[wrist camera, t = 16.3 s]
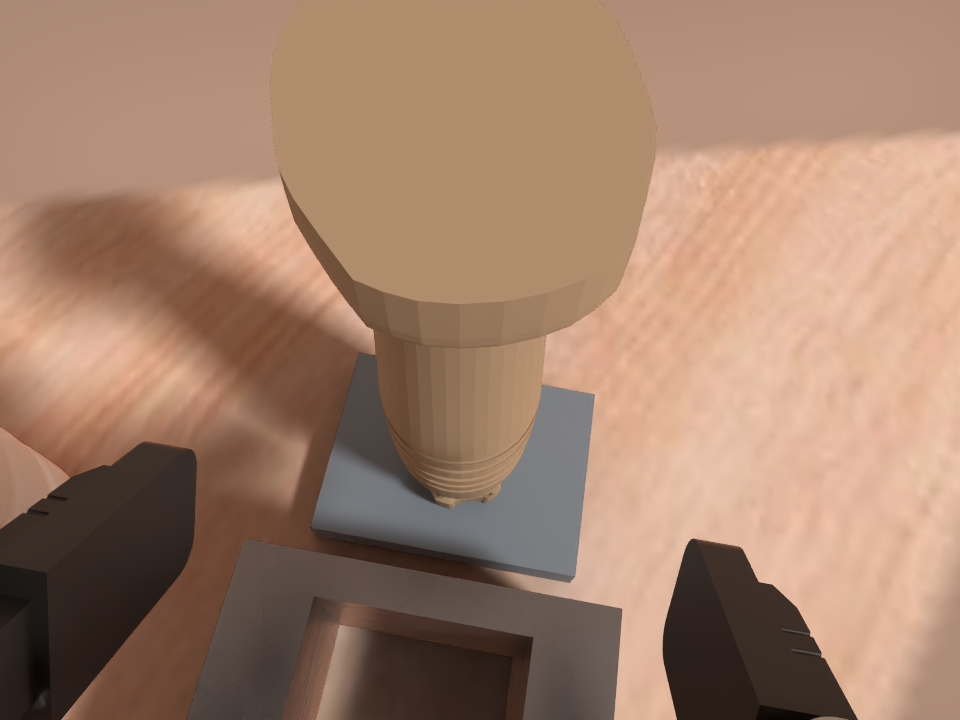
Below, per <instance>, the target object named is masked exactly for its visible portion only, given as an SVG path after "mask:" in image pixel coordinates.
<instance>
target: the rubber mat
mask: <svg viewBox="0 0 960 720" xmlns="http://www.w3.org/2000/svg"><path fill="white" fill-rule="evenodd" d="M594 397H595V394H589V393H584V392H578V391H572V390H567V389H561V388H556V387H550V386H544V385H542V386H541V395H540V400H539V405H538V409H537V413H536V417H535V421H534V425H533V428H532V431H531V434H530V436H529V439H528V442H527V444H526V446H525V449H524V451H523V453H522V456H521V457H520V459H519V461H518V462H517V464H516V466H515V467H514V469H513V470H512V472H511V473H510V474H509V475H508V476H507V478H506V479H505V480H504V481H503V482H501V490H500V492H499V494H498V495H496V496H495V497H494V498H493V499H492V500H490V501H489V502H487V503H482V502H478V501H468V502H464V503H460V504H458V505H456V506H454V508H452V509H448V508H444V507H442V506H439V505H438V504H437V503H436V502H435V500H434V496H433V494H432V493H431V491H430V490H428V489H426V488H425V487H424V486H422V485H421V484H420V483H419V482H418V481H417V480H416V479H415V478H414V477H413V476H412V475H411V474H410V473H409V471H408V469H407V468H406V466H405V464H404V462H403V461H402V459H401V457H400V456H399V453H398V451H397V449H396V446H395V444H394V441H393V439H392V436H391V434H390V431H389V428H388V424H387V421H386V417H385V414H384V410H383V406H382V402H381V397H380V390H379V380H378V370H377V360H376V356H375V355H370V354H364V353H359V355H358V359H357V362H356V366H355V369H354V373H353V376H352V380H351V383H350V387H349V391H348V394H347V398H346V401H345V405H344V408H343V412H342V416H341V419H340V423H339V426H338V430H337V433H336V437H335V440H334V444H333V448H332V451H331V455H330V458H329V462H328V465H327V469H326V473H325V476H324V480H323V483H322V487H321V490H320V494H319V497H318V501H317V505H316V508H315V512H314V515H313V519H312V522H311V526H310V528H311V530H312V531H313V533H314V535H315V536H320V537H325V538H331V539H336V540H342V541H347V542H352V543H358V544H363V545H369V546H374V547H379V548H385V549H390V550H396V551H401V552H406V553H412V554H417V555H422V556H428V557H433V558H439V559H444V560H449V561H455V562H460V563H466V564H471V565H476V566H482V567H487V568H493V569H498V570H503V571H509V572H514V573H520V574H525V575H530V576H536V577H541V578H546V579H552V580H557V581H563V582H568V583H570V582H571V581H572V580H573V578H574V577H575V574H576V564H577V555H578V546H579V536H580V527H581V518H582V509H583V499H584V490H585V481H586V472H587V462H588V453H589V444H590V434H591V425H592V416H593V407H594Z"/></svg>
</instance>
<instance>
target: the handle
mask: <svg viewBox="0 0 960 720" xmlns="http://www.w3.org/2000/svg"><path fill="white" fill-rule="evenodd" d="M270 93H271V111H272V128H273V142H274V147H275V152H276V157H277V162H278V168H279V172H280V176H281V179H282V183H283V186H284V190H285V193H286V196H287V199H288V203H289V206H290V209H291V212H292V215H293V218H294V221H295V223H296V224H297V226H298V228H299V229H300V231H301V233H302V234H303V236H304V238H305V240H306V241H307V243H308V245H309V246H310V248H311V250H312V251H313V253H314V254H315V256H316V257H317V259H318V260H319V262H320V264H321V265H322V267H323V268H324V270H325V271H326V273H327V274H328V276H329V277H330V279H331V280H332V282H333V283H334V285H335V286H336V287H337V289H338V290H339V291H340V293H341V294H342V295H343V297H344V298H345V299H346V301H347V302H348V303H349V305H350V306H351V307H352V308H353V310H354V311H355V312H356V313H357V315H358V316H359V317H360V318H361V320H362V321H363V322H364V324H365V325H366V326H367V327H369V328H371V329H373V330H374V340H375V350H376V360H377V370H378V380H379V390H380V397H381V402H382V406H383V410H384V414H385V417H386V421H387V424H388V428H389V431H390V434H391V436H392V439H393V441H394V444H395V446H396V449H397V451H398V453H399V456H400V457H401V459H402V461H403V462H404V464H405V466H406V468H407V469H408V471H409V473H410V474H411V475H412V476H413V477H414V478H415V479H416V480H417V481H418V482H419V483H420V484H421V485H422V486H424V487H425V488H426V489H428V490H430V491H431V493H432V494H433V496H434V500H435V502H436V503H437V504H438V505H439V506H442V507H444V508H448V509H452V508H454V506H456V505H458V504H460V503H464V502H468V501H478V502H482V503H487V502H489V501H490V500H492V499H493V498H494V497H495V496H496V495H498V494H499V492H500V490H501V482H503V481H504V480H505V479H506V478H507V476H508V475H509V474H510V473H511V472H512V470H513V469H514V467H515V466H516V464H517V462H518V461H519V459H520V457H521V456H522V453H523V451H524V449H525V446H526V444H527V442H528V439H529V436H530V434H531V431H532V428H533V425H534V421H535V417H536V413H537V409H538V405H539V400H540V395H541V386H542V375H543V365H544V354H545V344H546V335H547V334H550V333H552V332H555V331H558V330H560V329H563V328H566V327H568V326H571V325H572V324H574V323H575V322H577V321H578V320H580V319H581V318H583V317H584V316H586V315H588V314H589V313H591V312H592V311H594V310H595V309H596V308H597V307H598V306H599V305H601V304H602V303H603V302H604V301H605V300H606V299H607V298H609V297H610V296H611V295H612V294H613V293H614V292H615V291H616V290H617V288H618V286H619V284H620V282H621V280H622V277H623V275H624V272H625V270H626V267H627V264H628V262H629V259H630V256H631V253H632V251H633V248H634V245H635V242H636V238H637V234H638V230H639V226H640V222H641V218H642V214H643V210H644V206H645V202H646V198H647V194H648V189H649V184H650V180H651V175H652V170H653V166H654V161H655V152H656V133H657V132H656V131H657V127H656V123H655V118H654V114H653V110H652V105H651V101H650V98H649V95H648V92H647V89H646V87H645V84H644V81H643V78H642V76H641V73H640V70H639V68H638V65H637V62H636V59H635V57H634V54H633V51H632V48H631V46H630V44H629V42H628V40H627V39H626V36H625V34H624V32H623V30H622V28H621V27H620V25H619V23H618V21H617V20H616V19H615V18H614V16H613V15H612V14H611V13H610V12H609V11H608V9H607V8H606V7H605V6H604V5H603V4H602V3H601V1H600V0H299V1H298V3H297V5H296V6H295V8H294V10H293V12H292V13H291V15H290V17H289V19H288V21H287V22H286V24H285V26H284V27H283V29H282V31H281V34H280V36H279V39H278V42H277V44H276V47H275V49H274V52H273V54H272V63H271V74H270Z"/></svg>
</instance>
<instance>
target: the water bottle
mask: <svg viewBox="0 0 960 720" xmlns="http://www.w3.org/2000/svg"><path fill="white" fill-rule="evenodd" d="M68 479H70V477H69V476H68V475H67V474H66V473H65V472H64V471H63V470H61V469H60V468H59V467H58V466H56V465H55V464H54V463H52V462H51V461H49V460H47V459H46V458H45V457H43V456H42V455H41V454H39V453H38V452H36V451H34V450H33V449H31V448H30V447H28V446H26V445H25V444H23V443H21V442H19V441H18V440H17V439H16V438H15V437H13V436H12V435H11V434H10V433H8V432H7V431H5V430H4V429H3V428H1V427H0V529H1V528H3V527H4V526H5V525H7V524H8V523H9V522H11V521H12V520H13V519H15V518H16V517H18V516H19V515H20V514H22V513H27V511H28V509H29V508H30V507H31V506H33V505H34V504H35V503H37V502H38V501H40V500H41V499H42V498H45V499H46V498H47V495H48V494H49V493H50V492H52V491H53V490H55V489H56V488H57V487H59V486H60V485H61V484H63V483H64V482H66V481H67V480H68Z"/></svg>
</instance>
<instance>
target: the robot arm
mask: <svg viewBox="0 0 960 720" xmlns="http://www.w3.org/2000/svg"><path fill="white" fill-rule="evenodd" d="M196 469H197V462H196V456H195V453H194V452H193V451H192V450H191V449H186V448H180V447H175V446H169V445H163V444H158V443H152V442H142V443H141V444H139V445H138V446H136V447H135V448H134V449H133V450H131V451H130V452H129V453H127V454H126V455H125V456H123V457H122V458H121V459H120V460H118V461H117V462H116V463H114V464H113V465H112V466H106V465H103V466H100V467H98V468H95V469H92V470H90V471H87V472H84V473H82V474H79V475H76V476H74V477H71V478H70V479H68V480H67V481H66V482H64V483H63V484H61V485H60V486H59V487H57V488H56V489H55V490H53V491H52V492H50V493H49V494H48V495H47V498H46V499H45V498H42V499H41V500H40V501H38V502H37V503H35V504H34V505H33V506H31V507H30V508H29V509H28V511H27V513H22V514H20V515H19V516H18V517H16V518H15V519H13V520H12V521H11V522H9V523H8V524H7V525H5V526H4V527H3V528H1V529H0V720H61V719H62V718H63V717H64V715H65V714H66V713H67V712H68V710H69V709H70V708H71V707H72V706H73V704H74V703H75V702H76V701H77V699H78V698H79V697H80V696H81V695H82V693H83V692H84V691H85V690H86V688H87V687H88V686H89V685H90V684H91V682H92V681H93V680H94V679H95V678H96V676H97V675H98V674H99V673H100V671H101V670H102V669H103V668H104V667H105V665H106V664H107V663H108V662H109V660H110V659H111V658H112V657H113V656H114V654H115V653H116V652H117V651H118V649H119V648H120V647H121V646H122V645H123V643H124V642H125V641H126V640H127V638H128V637H129V636H130V635H131V634H132V632H133V631H134V630H135V629H136V628H137V626H138V625H139V624H140V623H141V621H142V620H143V619H144V618H145V617H146V615H147V614H148V613H149V612H150V610H151V609H152V608H153V607H154V606H155V604H156V603H157V602H158V601H159V599H160V598H161V597H162V596H163V595H164V593H165V592H166V591H167V590H168V589H169V587H170V586H171V585H172V584H173V582H174V581H175V580H176V579H177V578H178V576H179V575H180V574H181V572H182V571H183V569H184V567H185V565H186V563H187V561H188V558H189V555H190V552H191V549H192V545H193V539H194V524H195V496H196ZM663 660H664V666H665V670H666V674H667V679H668V683H669V687H670V691H671V696H672V700H673V704H674V708H675V713H676V717H677V720H858V719H857V717H856V715H855V714H854V712H853V710H852V708H851V706H850V704H849V703H848V701H847V699H846V697H845V695H844V693H843V691H842V690H841V688H840V686H839V684H838V682H837V680H836V679H835V677H834V675H833V673H832V671H831V669H830V668H829V666H828V664H827V662H826V660H825V658H821V651H820V649H819V647H818V645H817V644H816V642H815V640H814V638H813V637H810V631H809V629H808V627H807V625H806V623H805V621H804V620H803V618H802V616H801V614H800V612H799V610H798V609H797V607H796V606H795V605H793V604H792V603H791V602H790V601H789V600H788V599H787V598H786V597H785V596H784V595H783V594H782V593H781V592H780V591H779V590H777V589H776V588H775V587H774V586H773V585H771V584H766V583H760V582H758V580H757V578H756V576H755V574H754V572H753V569H752V567H751V565H750V563H749V561H748V559H747V557H746V555H745V553H744V551H743V550H742V548H741V547H738V546H732V545H726V544H721V543H715V542H709V541H704V540H698V539H691V540H690V541H689V543H688V544H687V546H686V549H685V552H684V555H683V559H682V563H681V566H680V570H679V574H678V577H677V581H676V585H675V588H674V592H673V596H672V599H671V603H670V607H669V610H668V614H667V618H666V622H665V627H664V634H663Z"/></svg>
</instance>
